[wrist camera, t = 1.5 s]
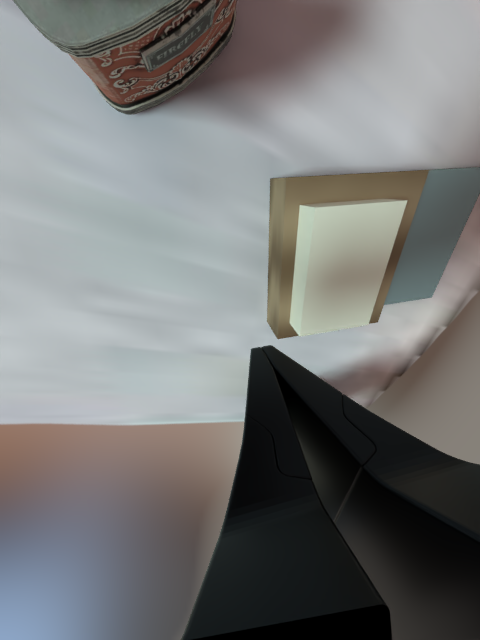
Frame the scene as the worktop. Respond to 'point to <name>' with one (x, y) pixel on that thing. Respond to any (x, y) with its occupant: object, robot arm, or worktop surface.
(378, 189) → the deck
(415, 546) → the robot arm
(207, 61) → the lighter
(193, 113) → the worktop surface
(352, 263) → the rectangular block
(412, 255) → the mat
